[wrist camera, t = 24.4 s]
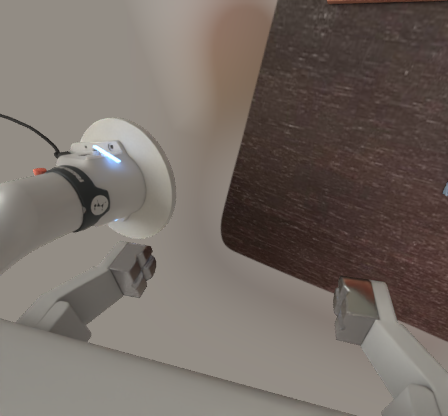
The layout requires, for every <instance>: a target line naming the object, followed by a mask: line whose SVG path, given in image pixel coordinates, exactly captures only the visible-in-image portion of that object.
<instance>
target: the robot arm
mask: <svg viewBox="0 0 448 416" xmlns="http://www.w3.org/2000/svg"><path fill="white" fill-rule="evenodd" d="M0 117H3V118H6V119H8V120H11V121H13V122H16V123H18V124H20V125H22V126H25V127H27V128H29V129H31V130H32V131H34V132H35V133H37V134H38V135H39V136H41V137H42V138H43V139H45V140H46V141H47V142H48V143H49V144H50V145H51V146H52V147H53V148H54V149H55V151H56V152H55V153H54V156H55V157H56V158H57V159H58V160H57V163H56V167H54V168H52V169H51V170H49V171H46V169H45V168H37V169H34V170H33V172H34V174H35V176H31V177H26V178H22V179H17V180H13V181H8V182H4V183H2V184H0V276H1V275H2V274H3V273H4V272H5V271H6V270H8V269H9V268H10V267H11V266H12V265H14V264H15V263H16V262H18V261H19V260H20V259H22V258H23V257H25V256H26V255H28V254H29V253H31V252H32V251H34V250H36V249H38V248H39V247H41V246H43V245H46V244H47V243H50V242H52V241H54V240H56V239H58V238H60V237H62V236H64V235H67V234H69V233H71V232H78V231H81V230H85V229H87V228H89V227H90V226H95V227H99V226H102V225H105V224H108V223H110V222H113V221H116V220H119V221H121V222H123V221H126V220H127V219H128V218H129V216H130V215H131V214H132V213H134V212H136V211H138V210H139V209H140V208H141V207H142V205H143V204H144V201H145V197H146V186H145V181H144V178H143V175H142V173H141V171H140V169H139V167H138V166H137V164H136V163H135V162H134V160H133V159H132V158H131V157H130V156H129V155H128V154H127V152H126V150H125V148H124V146H123V144H122V143H121V142H120V141H119V140H111V141H93V142H77V143H73V144H72V145H71V148H70V152H68V151H67V152H61V153H60V152H59V150H58V148H57V147H56V146H55V145H54V144H53V143H52V142H51V141H50V140H49V139H48V138H47V137H45V136H44V135H43V134H41V133H40V132H39V131H37V130H36V129H34V128H33V127H31V126H29V125H27V124H25V123H22V122H20V121H18V120H16V119H13V118H11V117H8V116H5V115H2V114H0ZM152 252H153V251H152V248H151V246H146V245H140V244H136V243H130V242H124V241H119V242H117V243H116V245H115V246H114V247H113V248H112V249H111V250H110V252H109V253H108V254H107V256H106V257H105V258H104V259H103V260H102V261H101V263H100V264H99V265H98V266H97V267H93V268H91V269H89V270H87V271H85V272H83V273H82V274H80V275H78V276H76V277H74V278H72V279H70V280H69V281H67V282H65V283H63V284H61V285H59V286H57V287H55V288H53V289H51V290H50V291H48V292H46V293H44V294H42V295H41V296H40V297H39V298H38V299H37V300H36V301H35V302H34V303H33V304H32V305H31V306H30V308H29V309H28V310H27V311H26V312H25V313H24V314H23V315H22V316H21V317H20V318H19V319H18V320H17V322H11V321H7V320H4V319H0V416H356V415H352V414H349V413H345V412H341V411H338V410H334V409H330V408H327V407H323V406H319V405H316V404H311V403H308V402H305V401H301V400H297V399H293V398H290V397H286V396H282V395H279V394H275V393H271V392H268V391H264V390H261V389H257V388H253V387H250V386H246V385H242V384H239V383H235V382H231V381H228V380H224V379H220V378H217V377H213V376H209V375H206V374H202V373H198V372H195V371H191V370H187V369H184V368H180V367H176V366H172V365H169V364H165V363H162V362H158V361H154V360H150V359H147V358H143V357H139V356H136V355H132V354H129V353H125V352H121V351H118V350H114V349H110V348H106V347H103V346H99V345H95V344H92V343H88V340H89V339H90V337H91V332H90V330H89V329H88V328H87V326H86V324H88V323H89V322H91V321H92V320H93V319H94V318H96V317H97V316H98V315H100V314H101V313H102V312H103V311H105V310H106V309H107V308H108V307H110V306H111V305H113V304H114V303H115V302H116V301H118V300H119V299H120V298H122V297H123V295H126V296H131V297H137V298H140V297H141V295H142V293H143V292H144V290H145V289H146V287H147V282H146V281H147V280H149V279H151V278H152V276H153V274H154V273H155V269H156V260H155V258H154V257H153V256H152V255H151V253H152ZM338 285H339V287H338V288H336V289H335V293H334V299H333V308H334V313H335V314H336V316H337V318H336V321H335V332H336V340H339V341H344V342H348V343H352V344H356V345H360V346H361V348H362V350H363V351H364V353H365V355H366V356H367V358H368V359H369V361H370V362H371V364H372V365H373V367H374V369H375V370H376V372H377V373H378V375H379V376H380V378H381V380H382V381H383V383H384V384H385V386H386V387H387V389H388V390H389V392H390V394H391V395H392V396H393V398H394V400H393V401H392V402H391V403H390V404H389V405H388V406H387V407H386V408H385V409H384V410H383V411H382V412H381V413H382V416H448V372H447V371H446V370H445V369H444V368H443V367H442V366H441V365H440V364H439V363H438V362H437V361H436V360H435V359H434V357H432V355H431V354H430V353H429V352H428V351H427V350H426V349H425V348H424V347H423V346H422V345H421V344H420V343H419V341H418V340H417V339H416V338H415V337H414V336H413V335H412V334H411V333H410V332H409V331H408V330H407V329H406V328H405V327H404V326H403V325H402V324H398V322H397V318H396V315H395V311H394V308H393V304H392V301H391V298H390V294H389V291H388V287H387V285H386V283H385V282H379V281H373V280H368V279H361V278H354V277H347V276H340V278H339V280H338Z"/></svg>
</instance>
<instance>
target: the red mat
mask: <svg viewBox="0 0 448 416" xmlns="http://www.w3.org/2000/svg"><path fill="white" fill-rule="evenodd" d="M415 1H448V0H327V2H328V4H345V3H380V2H415Z"/></svg>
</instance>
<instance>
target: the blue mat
mask: <svg viewBox="0 0 448 416" xmlns="http://www.w3.org/2000/svg"><path fill="white" fill-rule="evenodd" d="M443 194H444V195H446V196H448V182H447V185H446V187H445V189H444V191H443Z"/></svg>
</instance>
